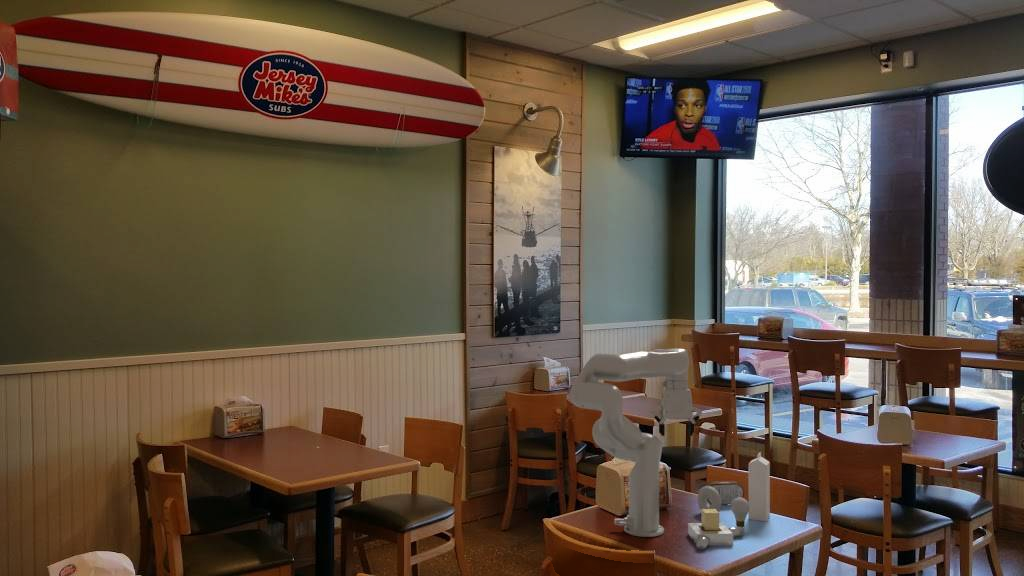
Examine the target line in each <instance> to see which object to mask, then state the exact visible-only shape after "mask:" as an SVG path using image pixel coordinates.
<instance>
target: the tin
mask: <svg viewBox="0 0 1024 576" xmlns="http://www.w3.org/2000/svg"><path fill="white" fill-rule="evenodd" d="M705 486H711V487H713V488H715V489H716V490H717V492H718V493H719V495H720V498H721V506H728V505H727V504H731V503H732V501H733V500H734V499H735V498H738V497H741V498H744V497H745V490H744V487H743V486H742V485H741V484H740V483H739V482H738V481H736V480H717V481H716V480H712V481H710V482H708V483H707V484H706V485H705ZM744 499H745V498H744ZM707 501H708V504H709V505H711V499H710V497H709V496H708V497H707Z"/></svg>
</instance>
